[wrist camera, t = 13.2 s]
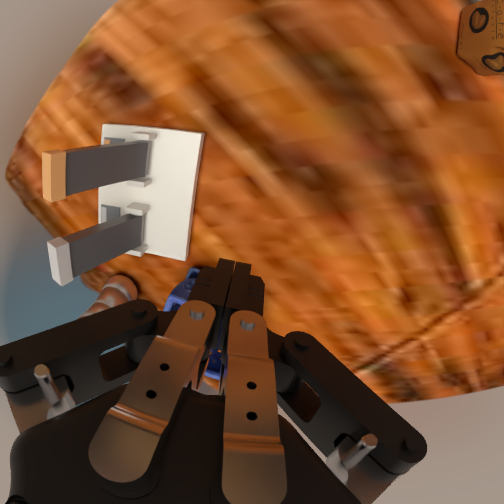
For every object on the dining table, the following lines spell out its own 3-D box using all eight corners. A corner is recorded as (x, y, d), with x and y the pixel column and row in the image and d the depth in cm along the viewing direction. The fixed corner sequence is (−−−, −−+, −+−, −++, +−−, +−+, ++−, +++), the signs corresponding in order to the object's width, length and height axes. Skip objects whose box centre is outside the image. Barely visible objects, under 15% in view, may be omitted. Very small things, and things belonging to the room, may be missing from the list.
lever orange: (139, 174, 41) (43, 197, 27) (142, 139, 39) (42, 151, 25) (150, 177, 40) (51, 202, 27) (154, 141, 38) (50, 154, 24)
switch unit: (104, 237, 48) (91, 248, 44) (109, 123, 40) (93, 125, 35) (188, 255, 49) (180, 269, 44) (204, 133, 40) (196, 135, 36)
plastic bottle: (119, 264, 51) (61, 333, 33) (147, 287, 52) (100, 364, 34) (105, 284, 53) (52, 352, 35) (132, 306, 55) (87, 379, 37)
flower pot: (169, 311, 54) (148, 354, 44) (189, 254, 49) (167, 294, 38) (233, 337, 56) (225, 384, 45) (262, 285, 50) (259, 331, 40)
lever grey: (135, 240, 46) (52, 278, 32) (136, 209, 44) (47, 241, 30) (145, 245, 45) (61, 286, 31) (147, 213, 43) (55, 248, 29)
